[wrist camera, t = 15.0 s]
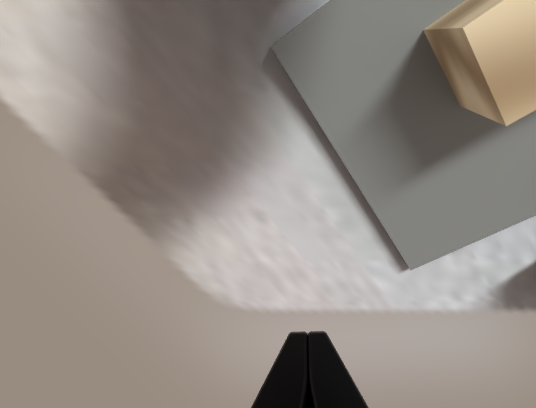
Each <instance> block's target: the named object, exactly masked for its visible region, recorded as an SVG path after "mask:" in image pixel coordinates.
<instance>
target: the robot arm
mask: <svg viewBox="0 0 536 408" xmlns="http://www.w3.org/2000/svg"><path fill="white" fill-rule="evenodd" d="M251 408H368V406H367V404H366V402H365V401H364V399H363V397H362V395H361V394H360V392H359V390H358V388H357V387H356V385H355V383H354V381H353V379H352V377H351V376H350V374H349V372H348V370H347V369H346V368H345V365H344V363H343V362H342V360H341V358H340V356H339V354H338V353H337V351H336V349H335V347H334V346H333V344H332V342H331V340H330V338H329V337H328V335H327V333H326V332H324V331H311V332H309V333H308V334H307V333H306V332H291V333H290V334H289V335H288V337H287V339H286V341H285V343H284V345H283V346H282V348H281V350H280V353H279V354H278V356H277V358H276V360H275V362H274V364H273V366H272V368H271V370H270V372H269V374H268V376H267V378H266V380H265V382H264V384H263V385H262V387H261V389H260V391H259V393H258V395H257V397H256V399H255V401H254V403H253V405H252V407H251Z"/></svg>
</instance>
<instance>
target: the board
mask: <svg viewBox="0 0 536 408" xmlns="http://www.w3.org/2000/svg"><path fill="white" fill-rule="evenodd" d="M464 1H465V0H330V1H329V2H328V3H326V4H325V5H324V6H322V7H321V8H320V9H319V10H317V11H316V12H315V13H313V14H312V15H311V16H309V17H308V18H307V19H306V20H304V21H303V22H302V23H300V24H299V25H298V26H296V27H295V28H294V29H293V30H291V31H290V32H289V33H287V34H286V35H285V36H283V37H282V38H281V39H280V40H278V41H277V42H276V43H274V44H273V45H272V46H271V49H272V50H273V52H274V53H275V55H276V56H277V58H278V60H279V61H280V63H281V64H282V66H283V68H284V69H285V71H286V72H287V74H288V76H289V77H290V79H291V80H292V82H293V84H294V85H295V87H296V88H297V90H298V92H299V93H300V95H301V96H302V98H303V100H304V101H305V103H306V104H307V106H308V107H309V109H310V111H311V112H312V114H313V115H314V117H315V119H316V120H317V122H318V123H319V125H320V127H321V128H322V130H323V131H324V133H325V135H326V136H327V138H328V139H329V141H330V143H331V144H332V146H333V147H334V149H335V151H336V152H337V154H338V155H339V157H340V159H341V160H342V162H343V163H344V165H345V166H346V168H347V170H348V171H349V173H350V174H351V176H352V178H353V179H354V181H355V182H356V184H357V186H358V187H359V189H360V190H361V192H362V194H363V195H364V197H365V198H366V200H367V202H368V203H369V205H370V206H371V208H372V210H373V211H374V213H375V214H376V216H377V217H378V219H379V221H380V222H381V224H382V225H383V227H384V229H385V230H386V232H387V233H388V235H389V237H390V238H391V240H392V241H393V243H394V245H395V246H396V248H397V249H398V251H399V253H400V254H401V256H402V257H403V259H404V261H405V262H406V264H407V265H408V267H409V268H410V270H413V269H415V268H417V267H419V266H422V265H424V264H426V263H428V262H431V261H433V260H435V259H438V258H440V257H442V256H444V255H447V254H449V253H451V252H453V251H456V250H458V249H460V248H463V247H465V246H467V245H469V244H472V243H474V242H476V241H478V240H481V239H483V238H485V237H487V236H490V235H492V234H494V233H497V232H499V231H501V230H503V229H506V228H508V227H510V226H512V225H515V224H517V223H519V222H522V221H524V220H526V219H528V218H531V217H533V216H535V215H536V110H535V111H533V112H531V113H529V114H527V115H526V116H524V117H522V118H520V119H518V120H517V121H515V122H513V123H511V124H509V125H508V126H505V125H502V124H500V123H498V122H496V121H493V120H491V119H489V118H486V117H484V116H482V115H479V114H477V113H475V112H473V111H470V110H468V109H466V108H463V107H461V106H460V105H459V103H458V101H457V99H456V97H455V95H454V93H453V90H452V88H451V86H450V84H449V82H448V80H447V78H446V76H445V74H444V72H443V70H442V68H441V66H440V64H439V62H438V59H437V57H436V55H435V53H434V51H433V49H432V47H431V45H430V43H429V41H428V39H427V37H426V35H425V33H424V31H423V30H424V29H425V28H426V27H428V26H429V25H431V24H432V23H434V22H435V21H436V20H438V19H439V18H441V17H442V16H444V15H445V14H446V13H448V12H449V11H451V10H452V9H454V8H455V7H457V6H458V5H459V4H461V3H462V2H464Z"/></svg>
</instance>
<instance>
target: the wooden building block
mask: <svg viewBox="0 0 536 408" xmlns="http://www.w3.org/2000/svg"><path fill="white" fill-rule="evenodd" d="M423 31H424V33H425V35H426V37H427V39H428V41H429V43H430V45H431V47H432V49H433V51H434V53H435V55H436V57H437V59H438V62H439V64H440V66H441V68H442V70H443V72H444V74H445V76H446V78H447V80H448V82H449V84H450V86H451V88H452V90H453V93H454V95H455V97H456V99H457V101H458V103H459V105H460V106H461V107H463V108H466V109H468V110H470V111H473V112H475V113H477V114H479V115H482V116H484V117H486V118H489V119H491V120H493V121H496V122H498V123H500V124H502V125H505V126H508V125H509V124H511V123H513V122H515V121H517V120H518V119H520V118H522V117H524V116H526V115H527V114H529V113H531V112H533V111H535V110H536V0H465V1H464V2H462V3H461V4H459V5H458V6H457V7H455V8H454V9H452V10H451V11H449V12H448V13H446V14H445V15H444V16H442V17H441V18H439V19H438V20H436V21H435V22H434V23H432V24H431V25H429V26H428V27H426V28H425V29H424V30H423Z"/></svg>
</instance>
